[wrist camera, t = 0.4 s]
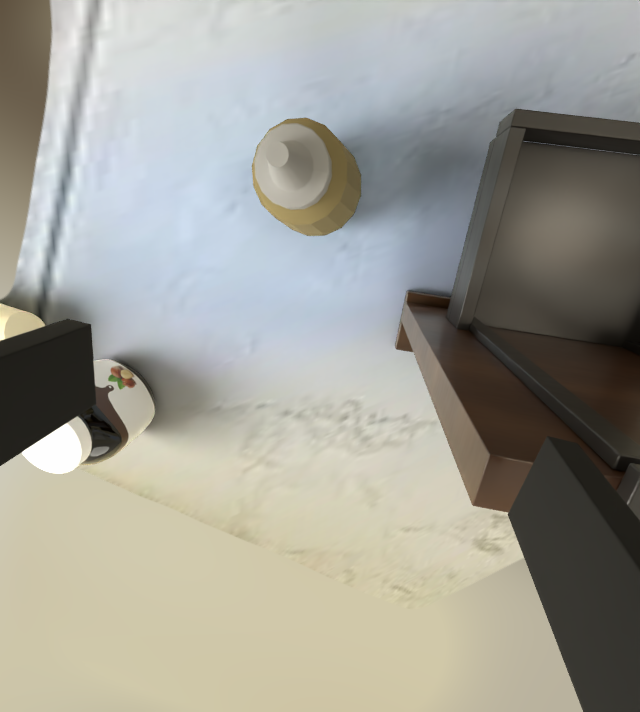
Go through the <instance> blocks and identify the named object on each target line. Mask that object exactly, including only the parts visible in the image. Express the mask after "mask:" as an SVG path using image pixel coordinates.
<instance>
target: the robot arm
mask: <svg viewBox="0 0 640 712" xmlns="http://www.w3.org/2000/svg"><path fill="white" fill-rule="evenodd" d="M94 405H96V390H95V376H94V362H93V348H92V333H91V324H87V323H83V322H79V321H75V320H70V319H66V320H63V321H59V322H56V323H53V324H50V325H47V326H44V327H41V328H38V329H35V330H32V331H29V332H26V333H22V334H19V335H16V336H13V337H10V338H7V339H4V340H1V341H0V466H1V465H2V464H4V463H6V462H7V461H9V460H10V459H12V458H13V457H15V456H16V455H18V454H20V453H21V452H23V451H24V450H26V449H27V448H29V447H30V446H32V445H34V444H35V443H37V442H38V441H40V440H41V439H43V438H44V437H46V436H48V435H49V434H51V433H52V432H54V431H55V430H57V429H58V428H60V427H62V426H63V425H65V424H66V423H68V422H69V421H71V420H72V419H74V418H76V417H77V416H79V415H80V414H82V413H83V412H85V411H86V410H88V409H90V408H91V407H93V406H94ZM508 516H509V519H510V521H511V524H512V527H513V529H514V532H515V534H516V537H517V540H518V542H519V545H520V547H521V550H522V553H523V555H524V558H525V560H526V563H527V566H528V568H529V571H530V573H531V576H532V579H533V581H534V584H535V587H536V589H537V592H538V594H539V597H540V600H541V602H542V605H543V608H544V610H545V613H546V615H547V618H548V621H549V623H550V626H551V628H552V631H553V634H554V636H555V639H556V642H557V644H558V646H559V649H560V652H561V654H562V657H563V660H564V662H565V665H566V668H567V670H568V673H569V676H570V678H571V681H572V683H573V686H574V688H575V691H576V694H577V696H578V699H579V701H580V704H581V707H582V709H583V712H640V520H639V519H638V518H637V516H636V515H635V514H634V513H633V511H632V510H631V509H630V508H629V506H628V505H627V504H626V503H625V501H624V500H623V499H622V498H621V496H620V495H619V494H618V493H617V491H616V490H615V489H614V488H613V486H612V485H611V484H610V483H609V482H608V480H607V479H606V478H605V477H604V475H603V474H602V473H601V472H600V470H599V469H598V468H597V467H596V465H595V464H594V463H593V462H592V460H591V459H590V458H589V457H588V455H587V454H586V453H585V452H584V450H583V449H582V448H581V447H580V445H579V444H578V443H575V442H570V441H566V440H562V439H558V438H554V437H550V436H547V437H546V439H545V441H544V443H543V445H542V447H541V449H540V451H539V453H538V455H537V457H536V459H535V461H534V463H533V465H532V467H531V469H530V471H529V473H528V475H527V477H526V479H525V481H524V483H523V485H522V487H521V489H520V491H519V493H518V495H517V497H516V499H515V501H514V503H513V505H512V507H511V509H510V511H509V513H508Z"/></svg>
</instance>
